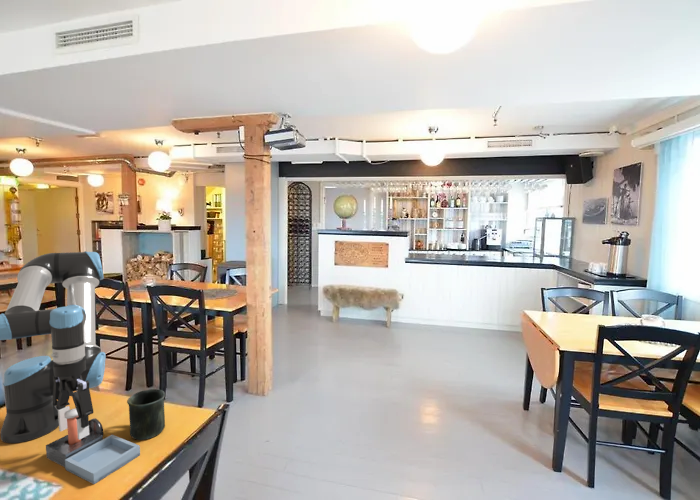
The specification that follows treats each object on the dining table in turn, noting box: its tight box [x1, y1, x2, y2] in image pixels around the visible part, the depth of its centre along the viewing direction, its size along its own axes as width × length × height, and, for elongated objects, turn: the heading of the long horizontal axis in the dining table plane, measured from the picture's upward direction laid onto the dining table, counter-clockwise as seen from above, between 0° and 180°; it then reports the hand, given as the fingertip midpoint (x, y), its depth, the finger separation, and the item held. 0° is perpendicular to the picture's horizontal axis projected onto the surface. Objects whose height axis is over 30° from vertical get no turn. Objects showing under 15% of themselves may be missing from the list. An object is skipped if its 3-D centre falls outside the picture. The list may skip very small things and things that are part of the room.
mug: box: [126, 388, 166, 441], centre depth 120 cm, size 11×15×12 cm
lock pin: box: [64, 407, 81, 446], centre depth 108 cm, size 4×4×13 cm
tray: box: [64, 434, 141, 485], centre depth 104 cm, size 13×13×3 cm
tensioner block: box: [45, 417, 105, 468], centre depth 109 cm, size 10×12×8 cm
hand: (74, 432), depth 108 cm, fingers open, 9 cm apart
